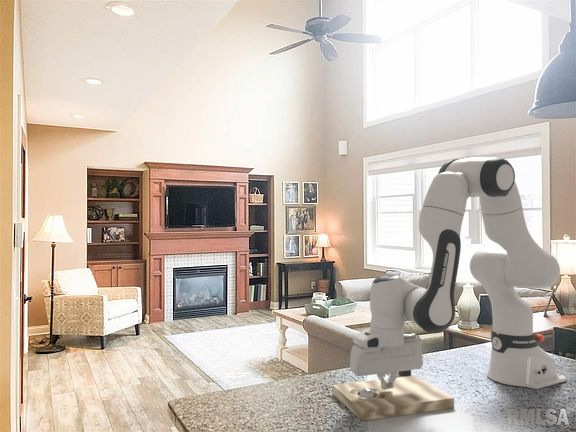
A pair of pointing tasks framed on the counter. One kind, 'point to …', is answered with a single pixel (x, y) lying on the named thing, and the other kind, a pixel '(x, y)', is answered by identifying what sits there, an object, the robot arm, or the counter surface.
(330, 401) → the counter surface
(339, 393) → the beige flat wooden board
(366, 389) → the ball
